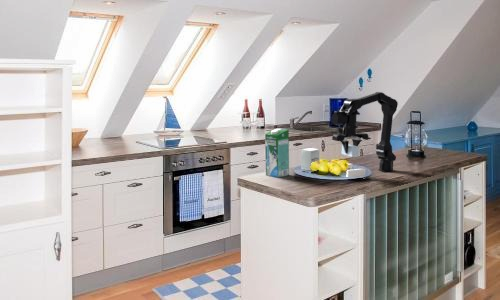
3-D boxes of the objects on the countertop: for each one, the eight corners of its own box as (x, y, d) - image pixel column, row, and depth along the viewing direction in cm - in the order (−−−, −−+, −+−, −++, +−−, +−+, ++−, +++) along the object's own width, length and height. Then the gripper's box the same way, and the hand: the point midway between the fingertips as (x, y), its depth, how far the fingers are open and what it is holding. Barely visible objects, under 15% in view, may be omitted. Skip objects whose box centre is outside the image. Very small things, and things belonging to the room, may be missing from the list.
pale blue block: (358, 156, 250) (358, 146, 249) (351, 156, 248) (352, 147, 248) (348, 153, 259) (348, 144, 258) (341, 153, 258) (341, 144, 257)
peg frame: (334, 174, 261) (334, 165, 260) (350, 172, 264) (350, 163, 263) (347, 180, 246) (348, 170, 245) (365, 178, 249) (365, 169, 248)
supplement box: (310, 173, 264) (310, 150, 262) (300, 171, 269) (300, 149, 267) (319, 171, 268) (319, 149, 266) (310, 169, 274) (309, 147, 272)
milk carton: (265, 175, 262) (264, 129, 258) (277, 172, 268) (276, 127, 264) (278, 177, 256) (277, 131, 251) (289, 174, 262) (288, 129, 258)
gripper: (357, 121, 262) (357, 149, 264) (327, 122, 255) (326, 151, 258) (369, 123, 251) (368, 152, 254) (337, 125, 245) (337, 155, 248)
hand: (350, 153), depth 254 cm, fingers closed on pale blue block, 4 cm apart
